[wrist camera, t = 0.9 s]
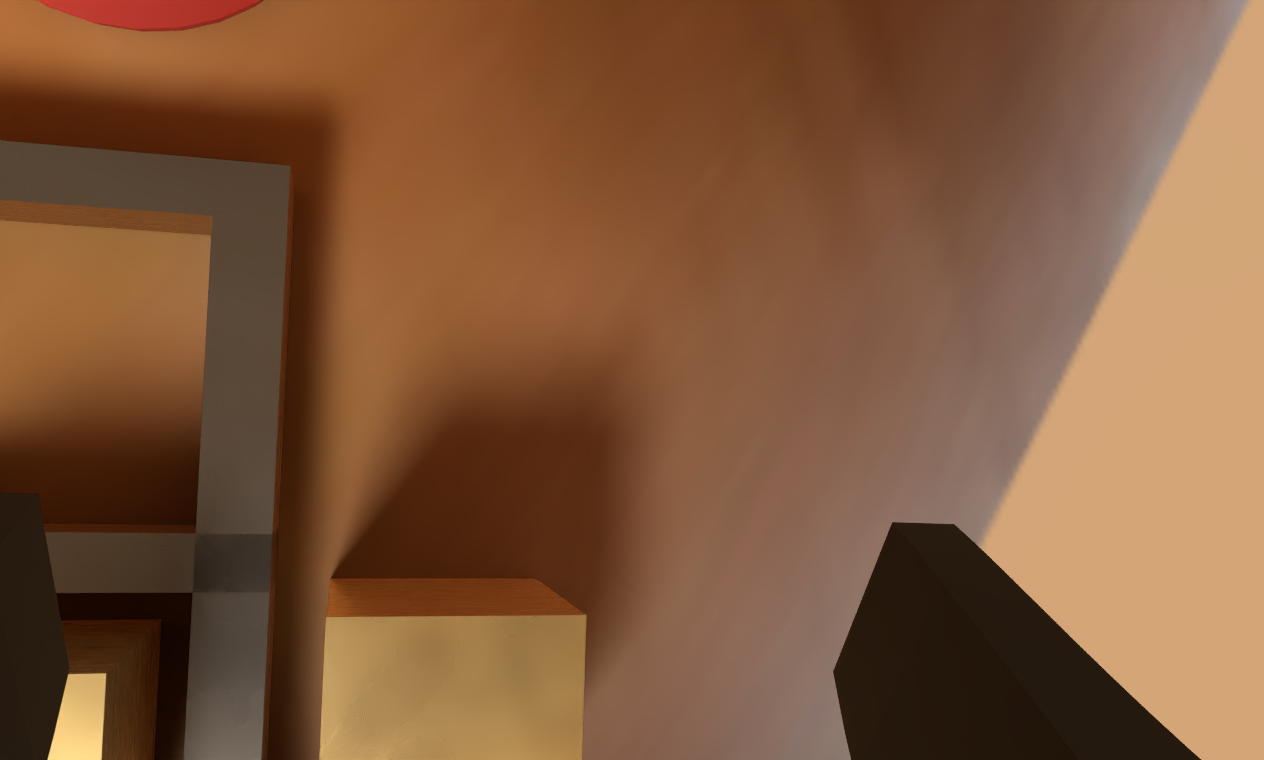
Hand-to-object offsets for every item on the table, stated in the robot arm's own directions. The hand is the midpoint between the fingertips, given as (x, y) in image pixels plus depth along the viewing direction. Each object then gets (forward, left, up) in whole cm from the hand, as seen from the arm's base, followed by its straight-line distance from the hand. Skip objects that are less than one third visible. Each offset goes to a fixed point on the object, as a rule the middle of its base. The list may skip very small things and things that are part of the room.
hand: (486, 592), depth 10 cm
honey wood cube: (-3, -1, -13) cm, 13 cm away
